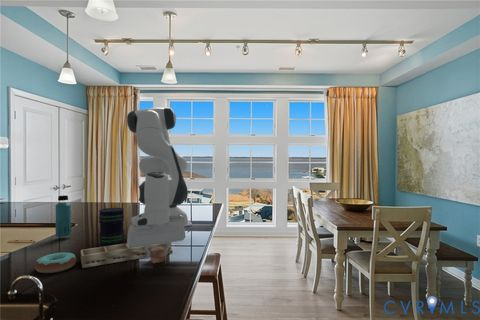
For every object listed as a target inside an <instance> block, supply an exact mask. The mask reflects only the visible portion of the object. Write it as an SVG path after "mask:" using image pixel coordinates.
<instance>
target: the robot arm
mask: <svg viewBox="0 0 480 320" xmlns="http://www.w3.org/2000/svg"><path fill="white" fill-rule="evenodd" d="M176 123H177V115H176V113H175V111H174V109H172V108H171V107H169V106H168V107H167V106H164V107H150V108H144V109H139V110H132V111H130V112H128V113H127V117H126V125H127V127H128V129H129V131H130V132H132V133H134V134H136V143H137V147H138V149H139V150H140V151H141V152H143V154H145V155H146V156H143V157H141V159H140V160H139V163H138V168H139V171H140V173H142V174H143V175H144V176H145V178H144V179H145V180H144V181H142V182H141V184H140V185H138V189H139V191H138V194H139V196H138V201H139V202H140V203H141V204H142V205H144V208H143V209H144V210H143V212H142V213H140V214H138V215H135V216H132V217H130V223H131V225H130V226H129V227H128V229H127V236H126V237H127V238H126V243H127V245H128V246H129V247H130V248H135V247H142V246H144V249H145V250H146V252H147V257H146V258H147V259H150V258H151V257H152V252H151V251H150V252H149V250H148V249H147V248H149V245H155V244H162V243H165V244H166V247H165V249H164V250H165V256H167V255H168V254H169V253H168V249H169V247H170V245H171V246H172V243H174V242H180V241H185V238H186V230H185V228H186V227H190V226H191V227H192V226H193V222H192V221H190V220H189V218H188V215H187V213H186V212H185V211H183V210H182V209H181V208H180V207H179V205H182V204H183V203H184V202H185V201H186V200H187V199H188V197H189V195H188V194H189V193H188V192H189V190H188V187H187V184H186V181H185V179H184V176H183V174H185V172H186V171H187V167H188V163H187V160H186V158H185V157H184V156H182V155H181V154H179V153H178V152H176V151H175V148H174V147H173V145H172V144H171V141H170V137H169V131H168V130H172V129H174V127H175V126H176ZM169 176H170V178H171V179H169Z"/></svg>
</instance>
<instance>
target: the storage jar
mask: <svg viewBox="0 0 480 320" xmlns="http://www.w3.org/2000/svg"><path fill="white" fill-rule="evenodd" d="M98 212H99V216H98V219H99V220H98V222H99V233H98V234H99V236H98V240H99V247H104V246H112V245H119V244H125V241H124V239H125V232H124V231H125V230H124V220H125V219H124V218H125V212H124V208H123V207H108V208H107V207H106V208H102V209H99V211H98Z"/></svg>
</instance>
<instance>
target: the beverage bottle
mask: <svg viewBox="0 0 480 320" xmlns="http://www.w3.org/2000/svg"><path fill="white" fill-rule="evenodd" d="M68 200H69V195H58V196H57V201H61V202H58V203H56V205H55V236H56V238H57V237H58V238H64V237H69V236H71V235H72V205H71V203H70V202H65V201H68ZM63 201H64V202H63Z"/></svg>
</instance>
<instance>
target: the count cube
mask: <svg viewBox="0 0 480 320" xmlns="http://www.w3.org/2000/svg"><path fill="white" fill-rule="evenodd" d="M150 251H151V252H152V257H151V258H149V259H150V262H151V263H153V264H156V263H162V262H166V261H165V259H166V258H165V257H166V255H165V250H164V249H163V248H162V247H160V248H153V249H150Z"/></svg>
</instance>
